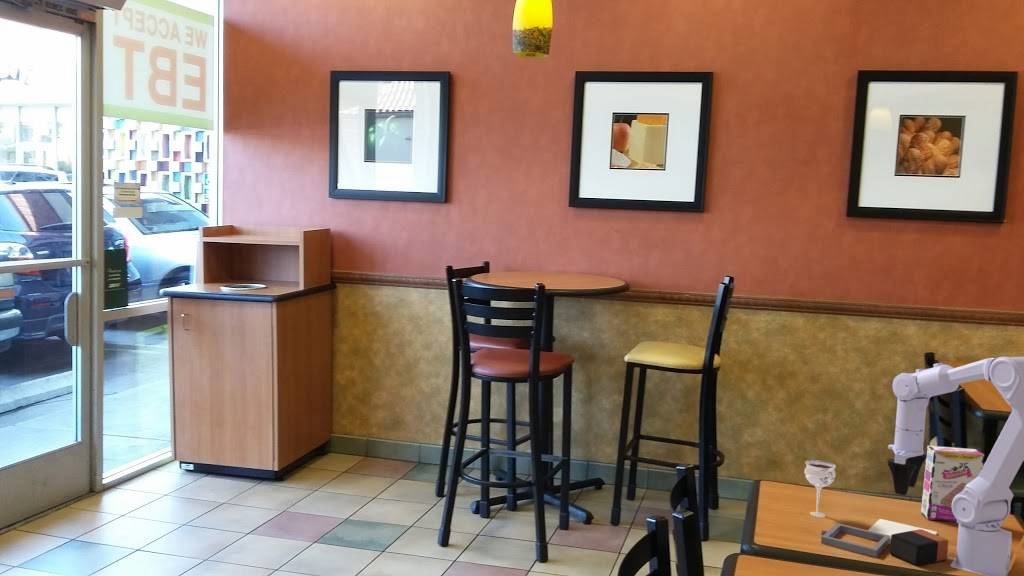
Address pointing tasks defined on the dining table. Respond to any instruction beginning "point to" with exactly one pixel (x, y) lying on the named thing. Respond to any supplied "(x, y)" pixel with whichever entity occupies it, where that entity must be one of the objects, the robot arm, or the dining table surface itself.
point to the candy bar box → (947, 479)
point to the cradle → (874, 552)
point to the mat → (893, 528)
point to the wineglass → (819, 477)
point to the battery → (919, 547)
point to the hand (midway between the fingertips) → (905, 490)
